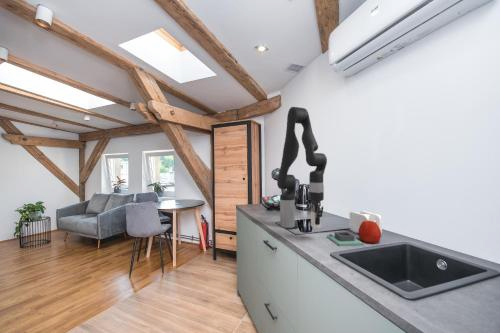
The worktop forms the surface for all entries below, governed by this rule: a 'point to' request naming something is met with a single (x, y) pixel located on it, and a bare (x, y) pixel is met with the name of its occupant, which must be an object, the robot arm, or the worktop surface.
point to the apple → (369, 232)
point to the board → (344, 239)
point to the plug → (314, 220)
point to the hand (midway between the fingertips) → (315, 223)
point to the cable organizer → (358, 218)
